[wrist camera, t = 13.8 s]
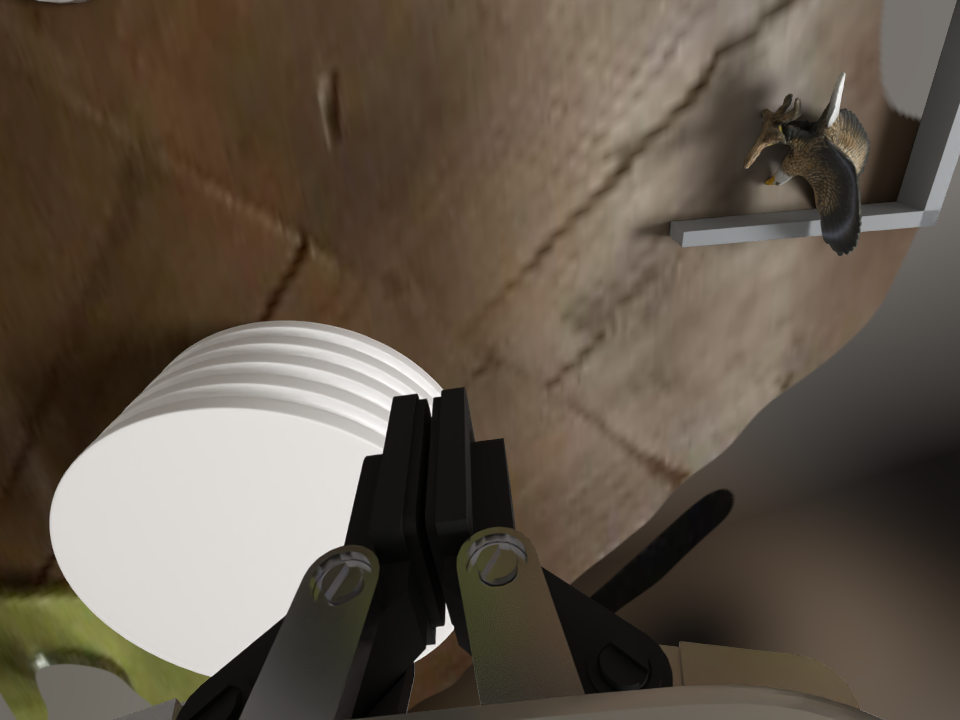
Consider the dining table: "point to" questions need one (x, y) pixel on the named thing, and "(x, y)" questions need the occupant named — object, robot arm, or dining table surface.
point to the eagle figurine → (822, 163)
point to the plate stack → (227, 485)
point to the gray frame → (940, 139)
